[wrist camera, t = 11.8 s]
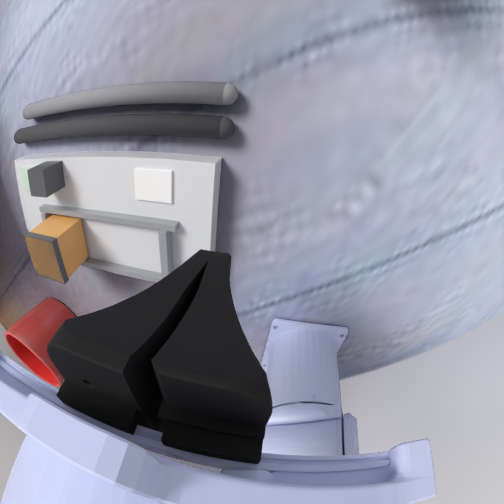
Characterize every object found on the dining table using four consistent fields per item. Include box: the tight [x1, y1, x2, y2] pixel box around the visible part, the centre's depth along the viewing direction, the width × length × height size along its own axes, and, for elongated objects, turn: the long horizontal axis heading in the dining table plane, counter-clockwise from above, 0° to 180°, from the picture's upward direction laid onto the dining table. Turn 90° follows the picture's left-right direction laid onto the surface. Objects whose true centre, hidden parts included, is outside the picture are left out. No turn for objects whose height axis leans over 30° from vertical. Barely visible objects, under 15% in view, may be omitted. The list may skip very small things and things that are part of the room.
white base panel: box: [14, 151, 222, 283], centre depth 20 cm, size 11×22×4 cm, turn 83°
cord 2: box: [14, 114, 234, 144], centre depth 17 cm, size 2×24×2 cm, turn 83°
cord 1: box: [23, 82, 238, 119], centre depth 16 cm, size 2×22×2 cm, turn 83°
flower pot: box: [5, 298, 76, 387], centre depth 29 cm, size 11×11×10 cm
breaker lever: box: [24, 214, 89, 284], centre depth 19 cm, size 4×4×4 cm
